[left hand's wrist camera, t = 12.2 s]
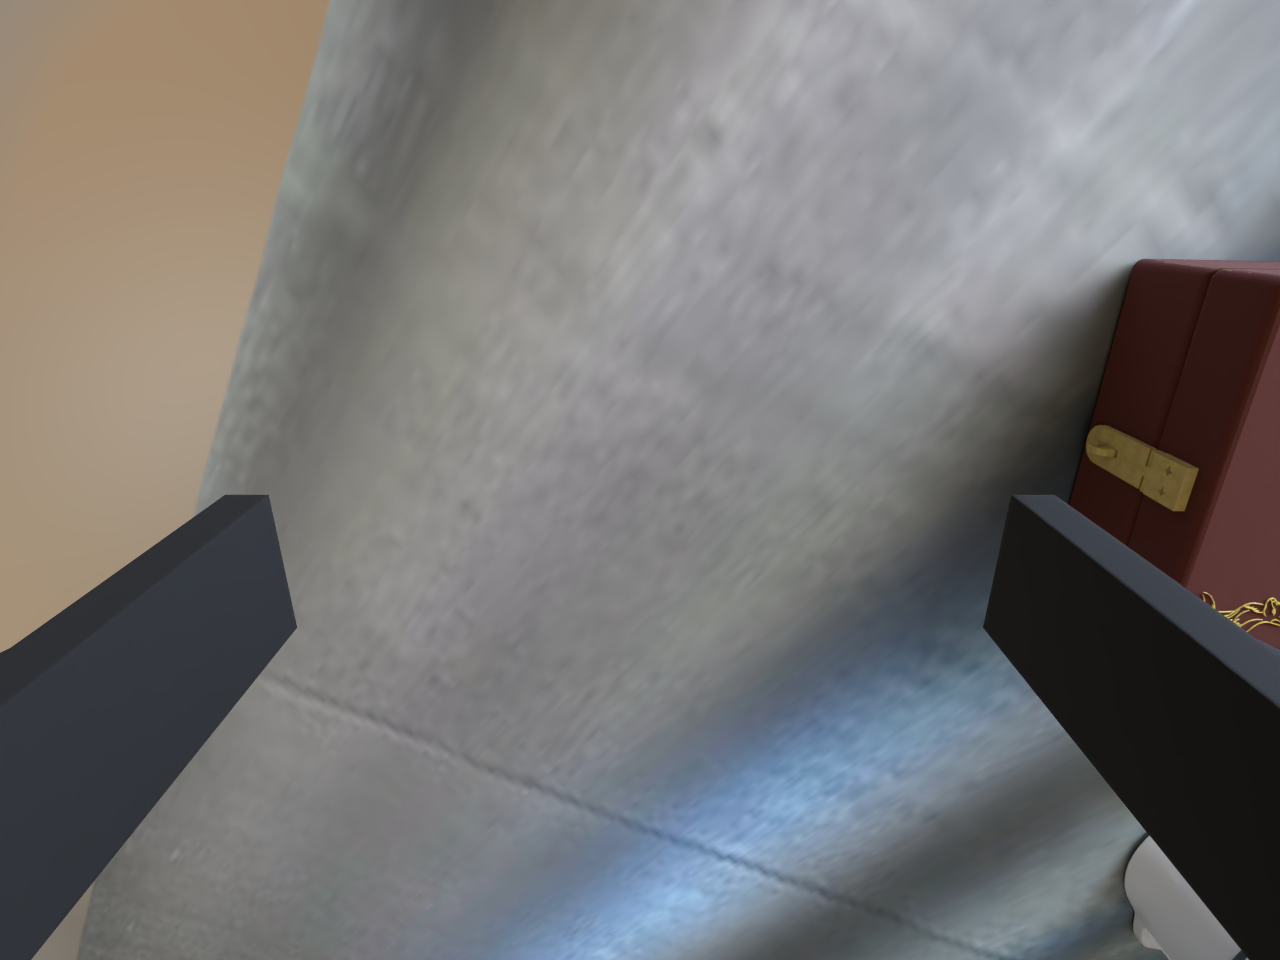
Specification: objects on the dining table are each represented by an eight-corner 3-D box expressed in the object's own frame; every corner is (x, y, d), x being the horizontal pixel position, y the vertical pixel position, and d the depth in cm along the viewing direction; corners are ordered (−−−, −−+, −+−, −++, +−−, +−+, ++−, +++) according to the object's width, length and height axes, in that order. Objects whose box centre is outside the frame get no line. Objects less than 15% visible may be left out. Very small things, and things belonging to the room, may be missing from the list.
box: (1110, 258, 40) (1254, 276, 30) (1400, 263, 40) (1633, 283, 30) (1027, 582, 47) (1121, 675, 38) (1269, 586, 47) (1423, 680, 38)
